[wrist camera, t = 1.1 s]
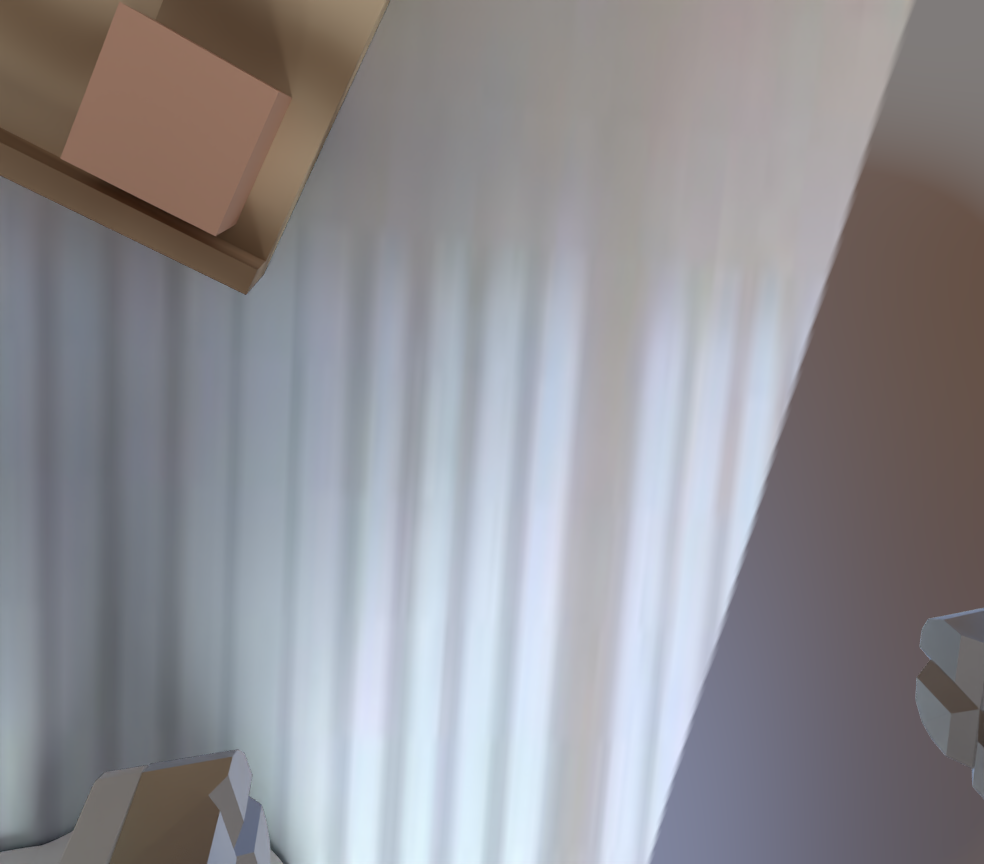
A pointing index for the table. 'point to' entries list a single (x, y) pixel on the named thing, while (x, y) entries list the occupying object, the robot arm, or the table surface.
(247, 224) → the trap box
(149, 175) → the block
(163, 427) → the table surface
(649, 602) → the table surface
